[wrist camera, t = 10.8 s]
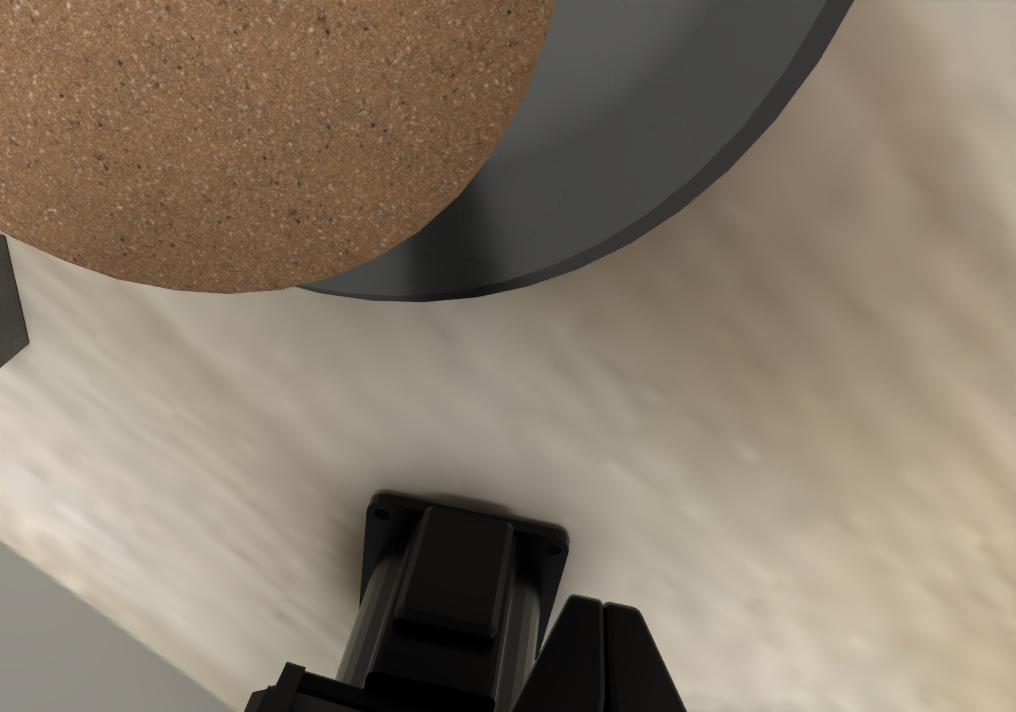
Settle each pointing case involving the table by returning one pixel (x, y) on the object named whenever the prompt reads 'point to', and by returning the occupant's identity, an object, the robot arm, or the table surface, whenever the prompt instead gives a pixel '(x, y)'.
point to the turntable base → (715, 168)
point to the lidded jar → (249, 129)
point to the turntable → (598, 136)
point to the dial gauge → (9, 310)
